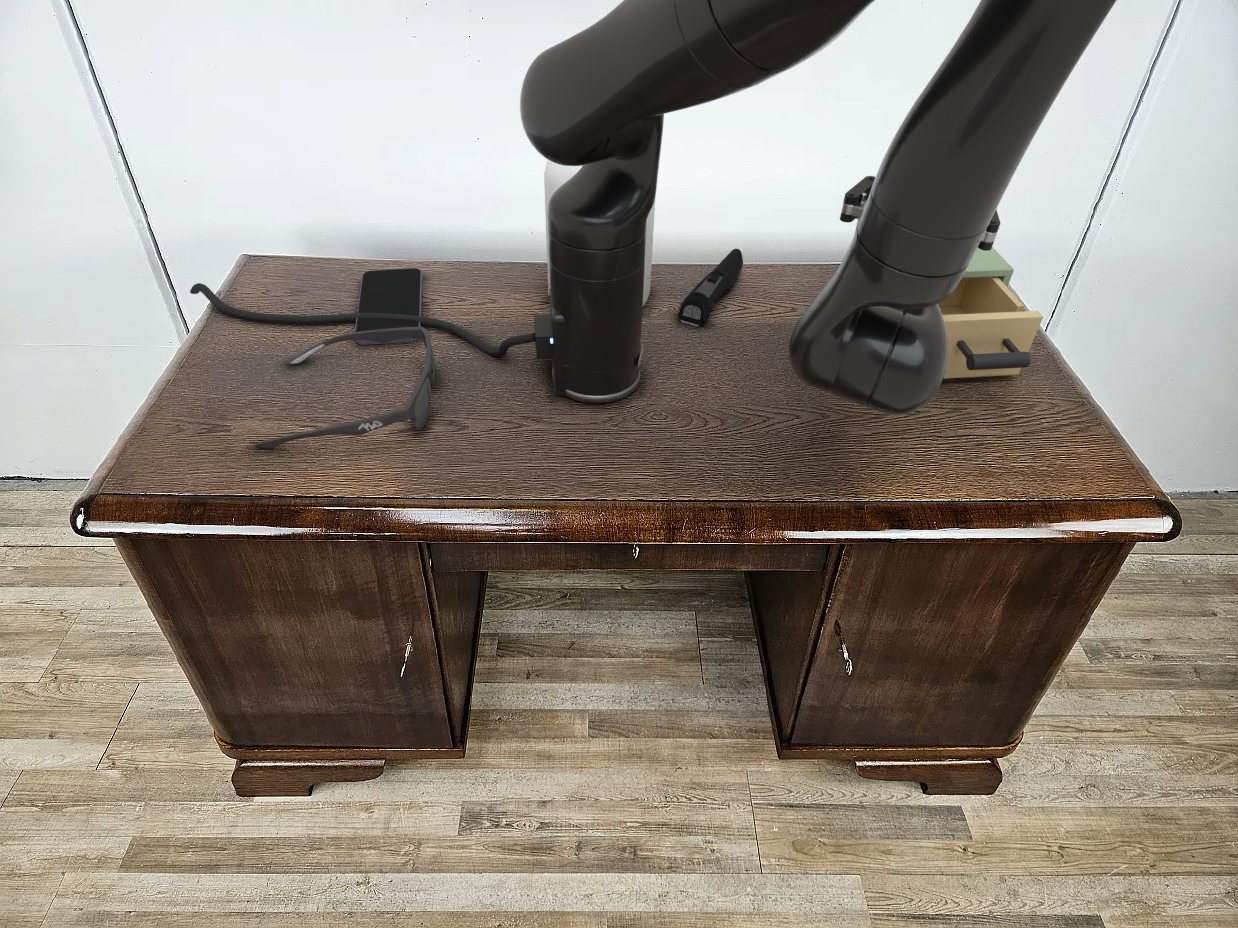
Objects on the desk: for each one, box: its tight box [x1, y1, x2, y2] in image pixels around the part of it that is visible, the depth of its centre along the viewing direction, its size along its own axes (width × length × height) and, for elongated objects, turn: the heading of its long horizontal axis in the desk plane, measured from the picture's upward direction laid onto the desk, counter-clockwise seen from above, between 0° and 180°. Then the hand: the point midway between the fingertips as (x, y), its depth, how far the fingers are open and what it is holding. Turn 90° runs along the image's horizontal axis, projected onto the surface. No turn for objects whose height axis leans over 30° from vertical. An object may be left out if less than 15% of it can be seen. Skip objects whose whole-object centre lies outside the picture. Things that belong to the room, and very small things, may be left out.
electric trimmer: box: [677, 248, 744, 327], centre depth 101 cm, size 4×16×3 cm, turn 153°
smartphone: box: [354, 267, 423, 346], centre depth 97 cm, size 7×1×15 cm
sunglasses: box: [255, 326, 436, 450], centre depth 83 cm, size 16×17×5 cm
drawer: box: [938, 276, 1044, 380], centre depth 89 cm, size 18×11×7 cm, turn 7°
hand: (931, 182), depth 80 cm, fingers closed on pill bottle, 5 cm apart
